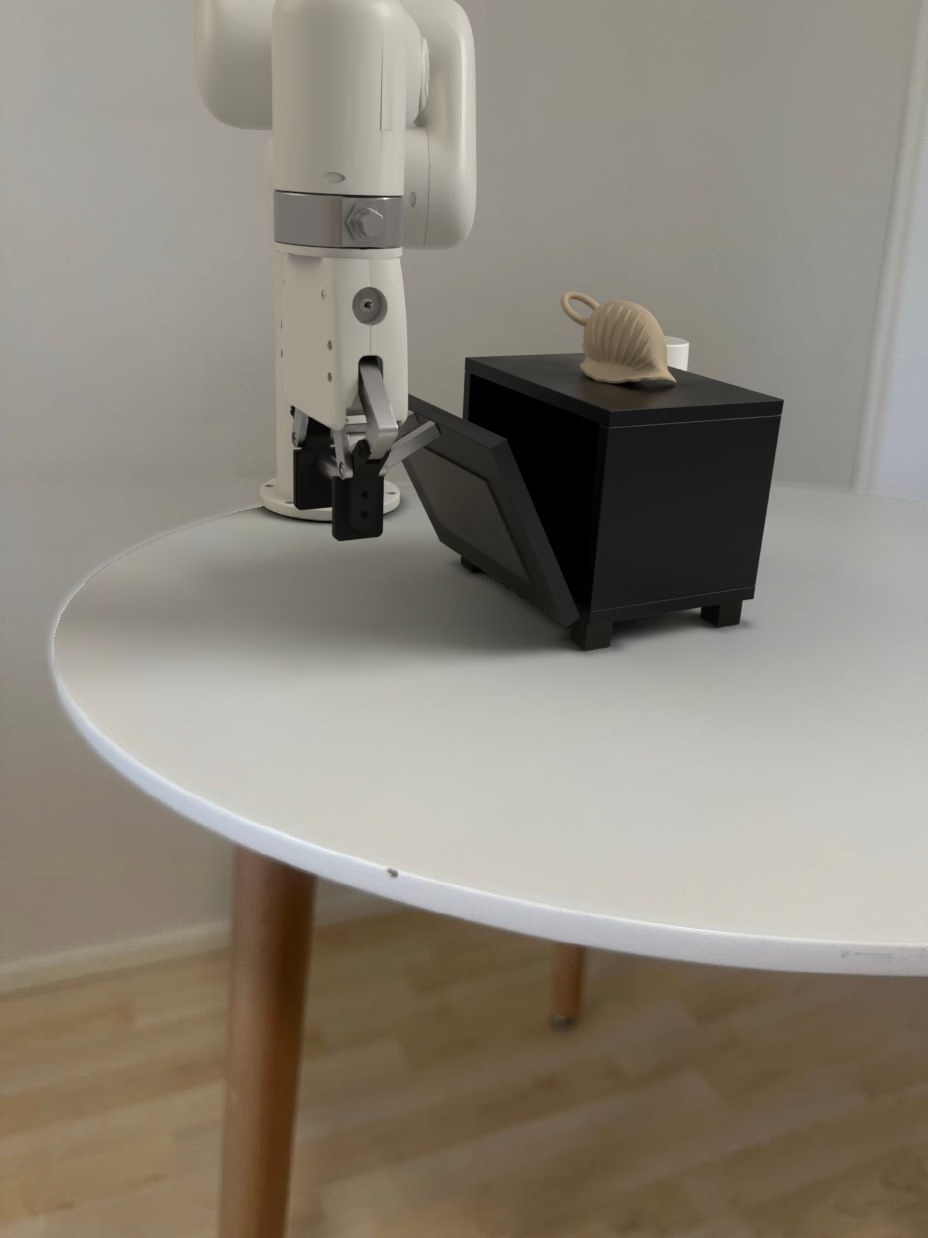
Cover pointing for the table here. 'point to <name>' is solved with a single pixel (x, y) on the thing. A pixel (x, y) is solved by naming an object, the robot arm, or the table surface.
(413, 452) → the oven door
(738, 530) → the oven
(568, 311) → the decorative ornament
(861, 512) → the table surface
